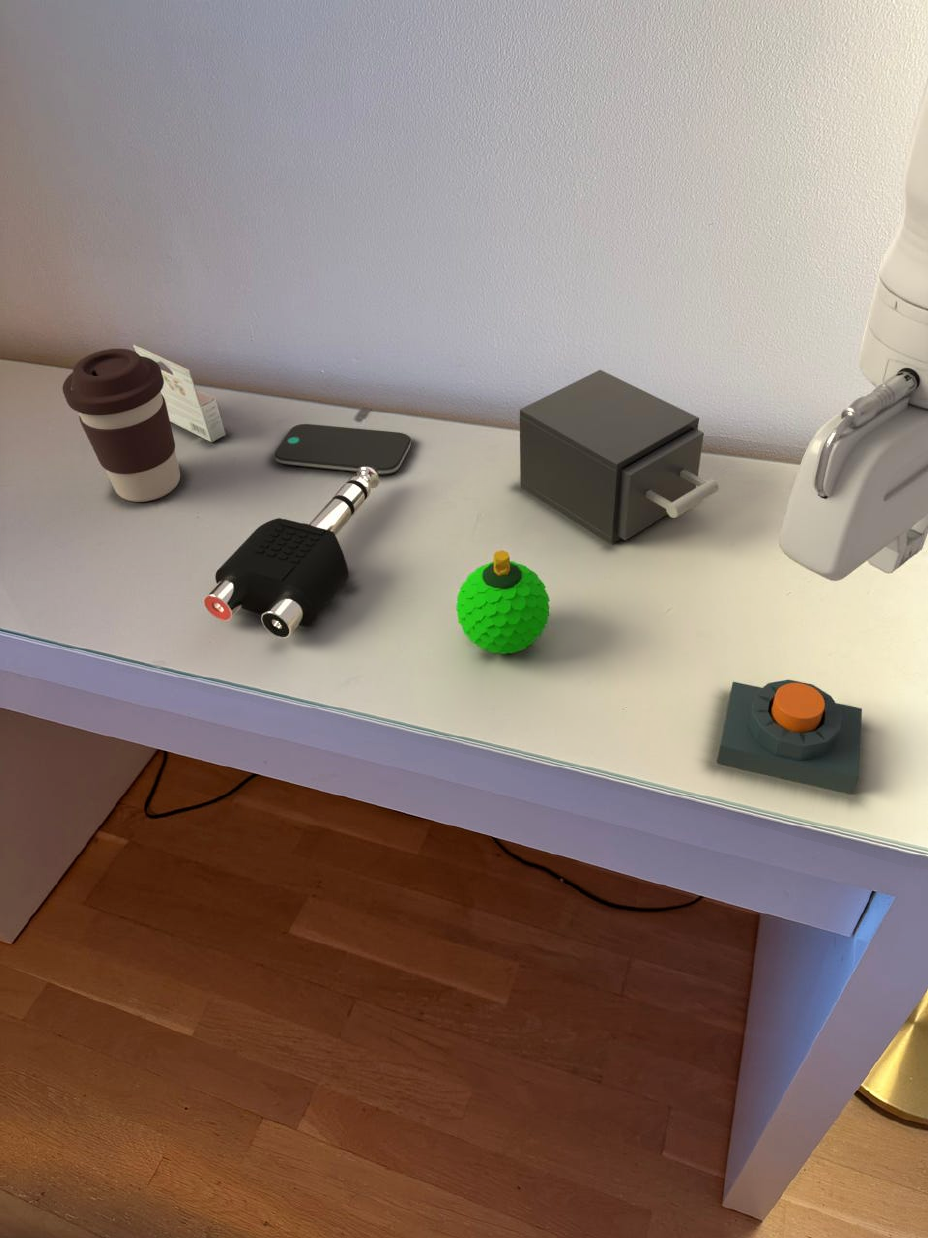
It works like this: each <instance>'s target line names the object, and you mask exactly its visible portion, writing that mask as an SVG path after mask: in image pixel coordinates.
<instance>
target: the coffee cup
mask: <svg viewBox="0 0 928 1238" xmlns="http://www.w3.org/2000/svg"><path fill="white" fill-rule="evenodd" d="M161 370H162V369H161V366H160V365H159V363H156V362H155V361H154V360H152V359H150V358H147V357H143V356H140V355H139V354H138V353H136V351H135V350H132V349H127V348H108V349H103V350H99V351H96V352H93V353H91V354H88V355H86V356H85V357H83V358H81V359H80V360H79V361H77V362H76V364H75V365H74V367H73V369H72V372H71V373H70V374H69V375H68V376H67V377H66V378H65V380H64V381H63V384H62V388H61V389H62V393H63V395H64V398H65V401H66V403H67V405H68V406H69V407H70V409H72V410H73V411H75V412H77V413H78V415H79V416H78V418H79V423H80V424H81V427H82V429H83V431H84V433H85V436H86V437H87V439H88V441H89V443H90V445H91V448H92V450H93V451H94V453H95V456H96V458H97V460H98V462H99V464H100V465H101V467H102V468H103V469H104V470H105V473H106V474H107V476H108V478H109V480H110V482H111V485H112V487H113V489H114V491H115V493H116V494H117V495H118V496H119V497H120V498H122V499H123V500H126V501H128V502H129V501H130V502H134V503H135V502H137V503H143V502H149V501H153V500H157V499H161V498H163V497H165V496H166V495H168V494H170V493H171V492H172V491H173V490H175V488H176V487H177V486H178V484H179V482H180V480H181V471H180V467H179V463H178V458H177V455H176V441H175V437H174V433H173V428H172V425H171V422H170V419H169V415H168V411H167V406H166V402H165V399H164V397H163V395H162V394H161V390H162V388H163V385H164V379H163V375H162V372H161Z"/></svg>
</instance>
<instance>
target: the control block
mask: <svg viewBox="0 0 928 1238" xmlns="http://www.w3.org/2000/svg"><path fill="white" fill-rule="evenodd" d="M789 683H802V684H806V685H809V686H811V687H813V688H814V689H816V690H817V691H818V692H819V693H820V694H821V695H822V697H823V698H824V701H825V708H824V711H823V714H822V717H821V720H820V723H819V725H818V726H817V727H816V728H815V729H814V730H812V731H810V732H806V733H797V732H792V731H788V730H786V729H784V728H782V727H781V726H779V725H778V724H777V723H776V722H775V720H774V719H773V716H772V712H771V711H772V706H773V702H774V698H775V695H776V692H777V690H778V689H779V688H780V687H782V686H783V685H786V684H789ZM729 692H730V693H729V698H728V703H727V707H726V712H725V717H724V722H723V727H722V732H721V737H720V742H719V747H718V752H717V757H716V764H719V765H723V766H727V767H731V768H732V767H733V768H736V769H740V770H745V771H749V772H753V773H758V774H761V775H767V776H769V777H774V778H779V779H784V780H786V781H787V780H788V781H792V782H797V783H801V784H805V785H808V786H812V787H813V786H814V787H817V788H822V789H825V790H831V791H835V792H839V793H843V794H848V795H852V792H853V790H854V788H855V786H856V784H857V780H858V777H859V763H860V751H861V750H860V749H861V734H862V733H861V732H862V717H863V716H862V715H863V708H861V707H857V706H852V705H848V704H842V703H838V702H836V701H835V700H834V698H833V697H832V695H830V694H828V693H827V692H825V691H823V690H822V689H821V688H819V687H817V686H816V685H814V684H812V683H808V682H803V681H799V680H794V679H793V680H792V679H783V680H777V681H773V682H768V683H766V684H765V685H764V686H763V687H761V686H756V685H751V684H746V683H742V682H737V681H732V685H731V688H730V691H729Z"/></svg>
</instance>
